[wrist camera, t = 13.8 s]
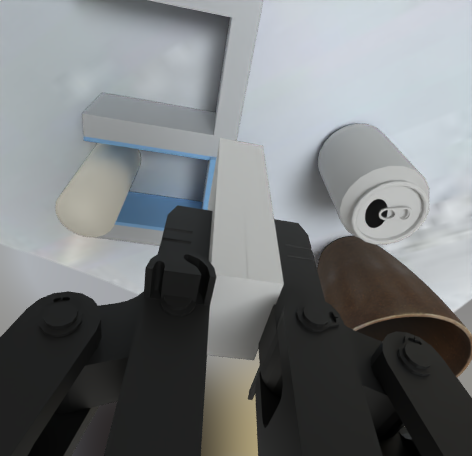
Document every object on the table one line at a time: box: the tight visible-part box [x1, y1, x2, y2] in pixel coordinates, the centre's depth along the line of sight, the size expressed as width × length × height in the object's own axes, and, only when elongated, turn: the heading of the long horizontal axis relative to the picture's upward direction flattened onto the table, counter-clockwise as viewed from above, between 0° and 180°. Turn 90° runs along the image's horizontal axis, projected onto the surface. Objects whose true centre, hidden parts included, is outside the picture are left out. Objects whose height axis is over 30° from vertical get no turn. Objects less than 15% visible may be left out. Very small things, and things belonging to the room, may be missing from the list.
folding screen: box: [82, 0, 263, 246], centre depth 34 cm, size 24×13×7 cm, turn 170°
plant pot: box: [317, 236, 472, 377], centre depth 42 cm, size 15×15×16 cm
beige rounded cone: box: [55, 143, 141, 237], centre depth 35 cm, size 5×5×11 cm
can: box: [318, 124, 429, 245], centre depth 35 cm, size 8×8×12 cm
